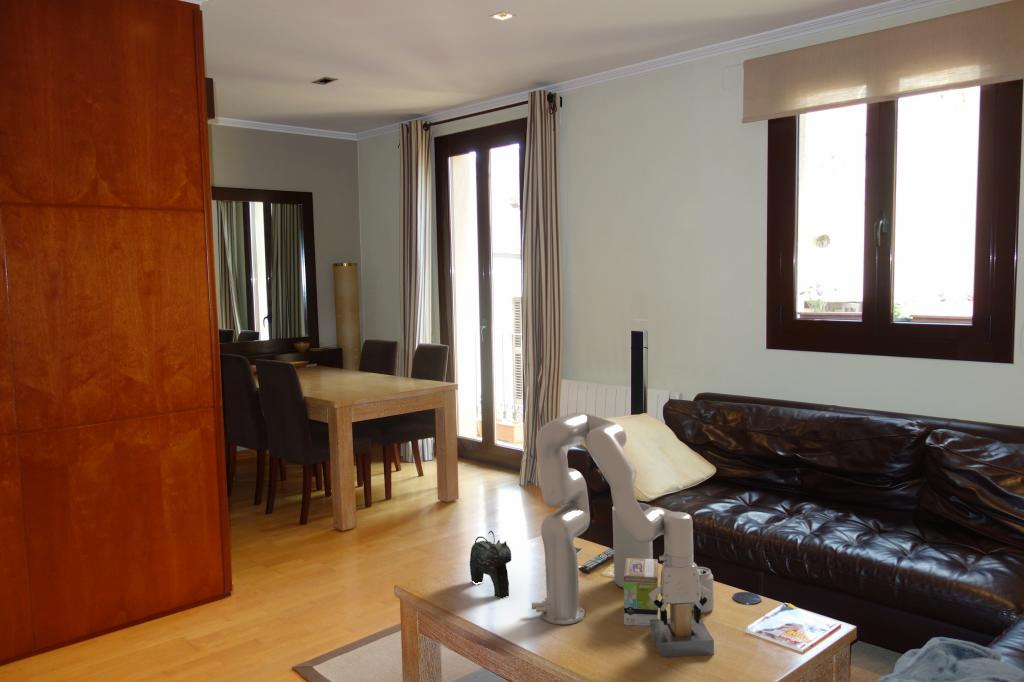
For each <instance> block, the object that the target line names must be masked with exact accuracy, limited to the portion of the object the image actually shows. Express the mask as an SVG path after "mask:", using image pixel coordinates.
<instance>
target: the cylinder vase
mask: <svg viewBox="0 0 1024 682" xmlns="http://www.w3.org/2000/svg"><path fill="white" fill-rule="evenodd" d="M638 504H639V506H640V507H641V509H642V510H643V511H645V510H647V509H648V508H650V507H652V506H651V505H650V504H647V503H642V502H638ZM612 540H613V541H612V543H613V547H612V548H613V572H614V573H613V576H614V577H613V579H614V583H615V585H617V586H618V587H619V588H621V587H622V589H624V569H625V560H626V558H636V559H654V558H653V557H654V553H653V552H654V551H653V549H654V548H653V540H652V541H651V542H649V543H639V542H637V541H635V540H634V539H633V538H632V537H631V536H630V535H629V534H628V532H627V531H626V529H625V528H624V526H623V525H622V523H621V521H620V520H619V518H618V516H617V514H616V511H615V508H614V505H613V506H612Z"/></svg>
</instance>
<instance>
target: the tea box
mask: <svg viewBox="0 0 1024 682" xmlns="http://www.w3.org/2000/svg"><path fill="white" fill-rule="evenodd" d="M657 587H659V561H658V559H657V558H653V559H636V558H626V560H625V569H624V588H623V624H624V625H625V626H626V625H627V626H639V627H642V626H644V627H650V619H659V608H658V607H657V606H656V605H655V604H654V602H653V601H652V600H651V598H650V597H649V593H650V592H652V591H653V590H655V589H656V588H657ZM659 595H660V594H658V595H657V596H656V598H657V599H658V600H659V597H660V596H659ZM659 601H660V600H659Z"/></svg>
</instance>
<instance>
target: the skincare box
mask: <svg viewBox="0 0 1024 682" xmlns="http://www.w3.org/2000/svg"><path fill="white" fill-rule="evenodd" d="M691 617H692V610H691V604H690V603H681V604H669V618H670V631H671V633H672V635H673V637H677V636H692V626H691Z"/></svg>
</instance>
